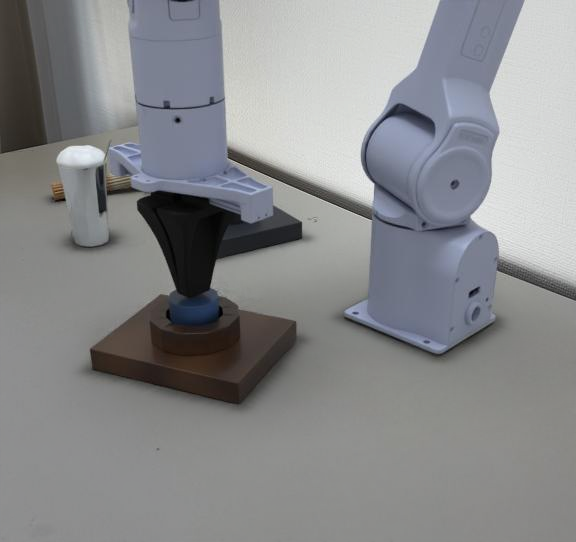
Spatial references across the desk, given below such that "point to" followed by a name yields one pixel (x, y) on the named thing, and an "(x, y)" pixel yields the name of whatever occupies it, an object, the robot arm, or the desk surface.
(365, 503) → the desk surface
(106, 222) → the milkshake
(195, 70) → the robot arm
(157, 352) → the wooden base push button
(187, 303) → the blue button
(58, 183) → the paintbrush
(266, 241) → the black square button base
